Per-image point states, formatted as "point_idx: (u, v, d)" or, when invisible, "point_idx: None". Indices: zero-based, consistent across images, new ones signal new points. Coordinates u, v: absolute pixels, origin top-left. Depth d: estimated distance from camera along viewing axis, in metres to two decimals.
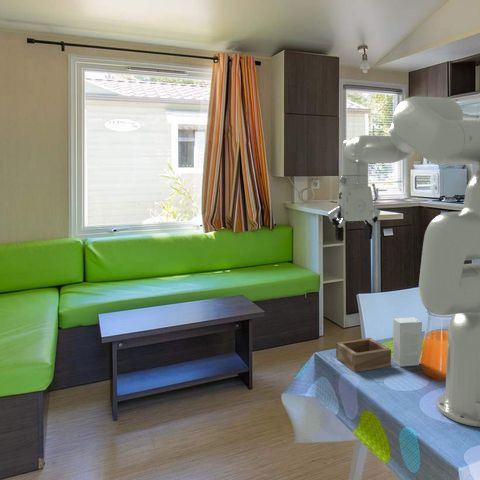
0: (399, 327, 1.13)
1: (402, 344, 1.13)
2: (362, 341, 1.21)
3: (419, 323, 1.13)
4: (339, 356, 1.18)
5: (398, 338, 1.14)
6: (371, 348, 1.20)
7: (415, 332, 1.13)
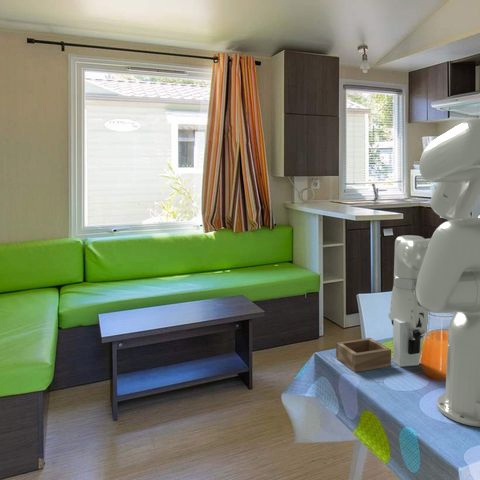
0: (399, 327, 1.13)
1: (402, 344, 1.13)
2: (362, 341, 1.21)
3: None
4: (339, 356, 1.18)
5: (398, 338, 1.14)
6: (371, 348, 1.20)
7: (415, 332, 1.13)
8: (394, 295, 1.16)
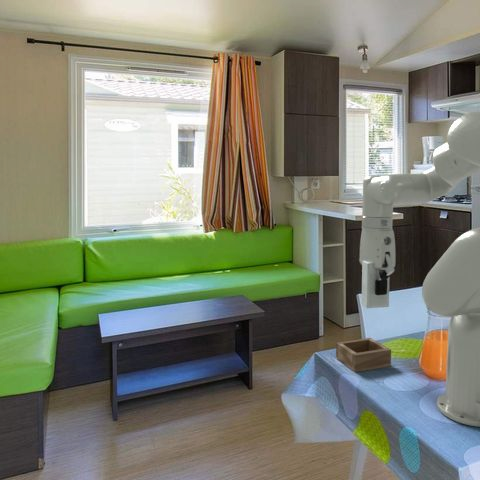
0: (366, 268, 1.12)
1: (370, 285, 1.12)
2: (362, 341, 1.21)
3: None
4: (339, 356, 1.18)
5: (365, 279, 1.13)
6: (371, 348, 1.20)
7: None
8: (362, 237, 1.15)
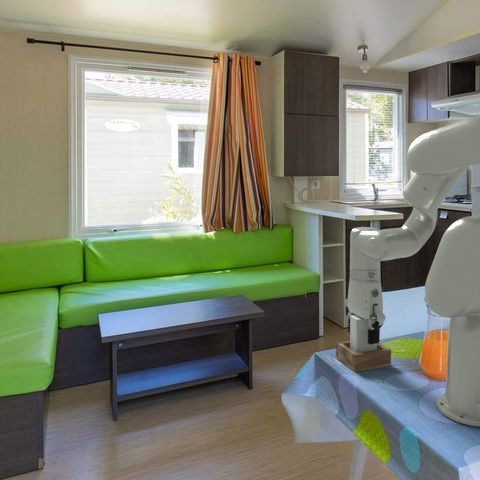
0: (355, 324, 1.14)
1: (359, 341, 1.14)
2: None
3: None
4: (339, 356, 1.18)
5: (354, 334, 1.15)
6: None
7: None
8: (350, 287, 1.17)
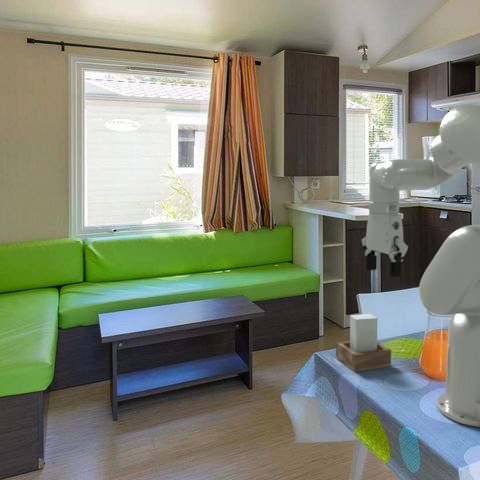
0: (355, 324, 1.14)
1: (359, 341, 1.14)
2: None
3: (375, 319, 1.14)
4: (339, 356, 1.18)
5: (354, 334, 1.15)
6: None
7: (371, 329, 1.14)
8: (369, 223, 1.17)
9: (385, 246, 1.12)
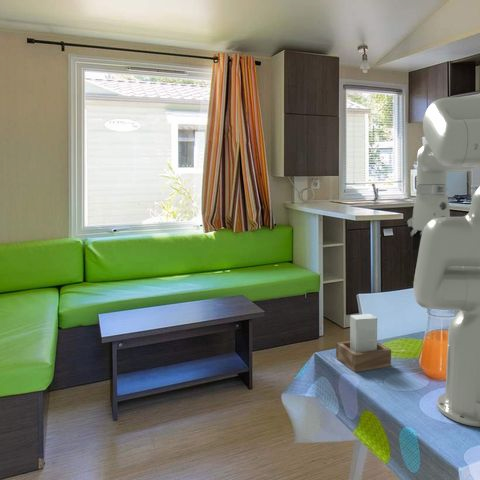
0: (355, 324, 1.14)
1: (359, 341, 1.14)
2: None
3: (375, 319, 1.14)
4: (339, 356, 1.18)
5: (354, 334, 1.15)
6: None
7: (371, 329, 1.14)
8: (416, 205, 1.23)
9: None
